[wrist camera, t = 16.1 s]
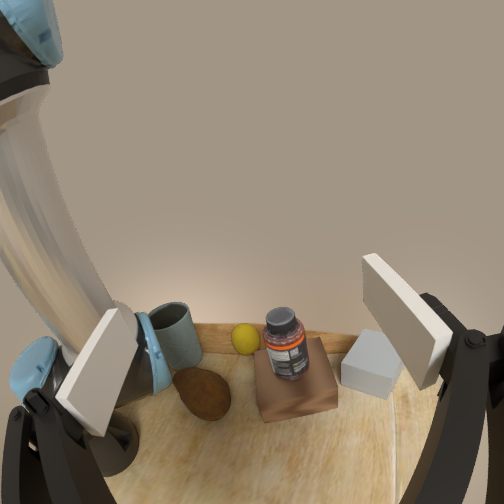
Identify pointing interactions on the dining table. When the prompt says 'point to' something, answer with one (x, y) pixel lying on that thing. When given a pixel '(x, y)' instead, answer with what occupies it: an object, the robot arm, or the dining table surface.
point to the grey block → (371, 365)
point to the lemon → (245, 339)
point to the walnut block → (295, 386)
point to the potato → (203, 392)
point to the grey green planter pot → (176, 335)
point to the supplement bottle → (286, 344)
